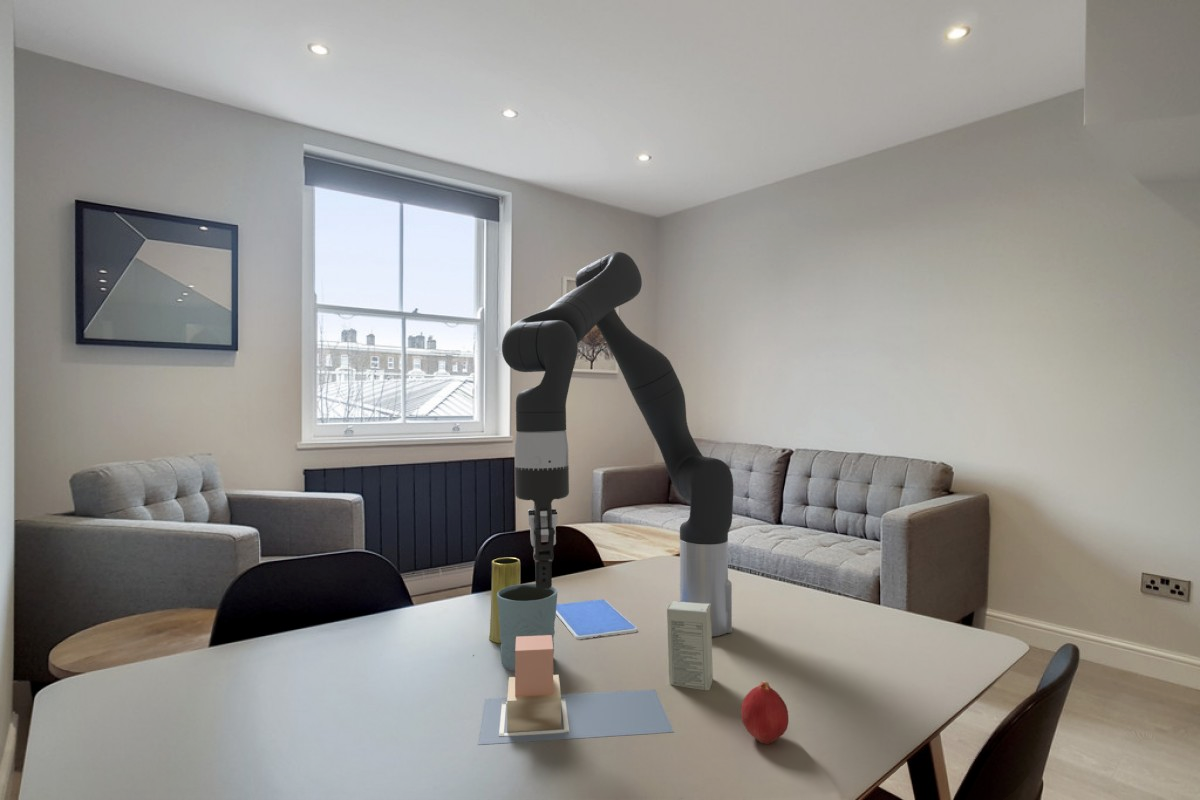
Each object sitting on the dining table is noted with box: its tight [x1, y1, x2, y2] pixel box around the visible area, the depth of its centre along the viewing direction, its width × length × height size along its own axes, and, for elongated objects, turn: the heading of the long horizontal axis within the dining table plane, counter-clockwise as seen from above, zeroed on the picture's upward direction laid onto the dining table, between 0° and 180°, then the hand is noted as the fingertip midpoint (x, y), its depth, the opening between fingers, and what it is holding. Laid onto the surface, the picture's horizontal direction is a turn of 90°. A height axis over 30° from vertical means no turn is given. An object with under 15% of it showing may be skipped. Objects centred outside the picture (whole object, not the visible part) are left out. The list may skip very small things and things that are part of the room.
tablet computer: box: [556, 598, 639, 640], centre depth 121 cm, size 19×13×1 cm, turn 19°
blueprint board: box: [477, 688, 675, 746], centre depth 82 cm, size 25×12×1 cm, turn 97°
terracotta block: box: [514, 635, 554, 697], centre depth 82 cm, size 5×5×6 cm
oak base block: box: [506, 674, 562, 732], centre depth 81 cm, size 7×7×4 cm
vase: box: [488, 556, 521, 644], centre depth 112 cm, size 6×6×14 cm
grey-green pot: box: [497, 583, 558, 672], centre depth 100 cm, size 10×10×12 cm
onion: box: [740, 680, 789, 745], centre depth 76 cm, size 6×6×8 cm
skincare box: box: [666, 600, 714, 691], centre depth 92 cm, size 6×4×12 cm
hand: (543, 587), depth 84 cm, fingers closed
